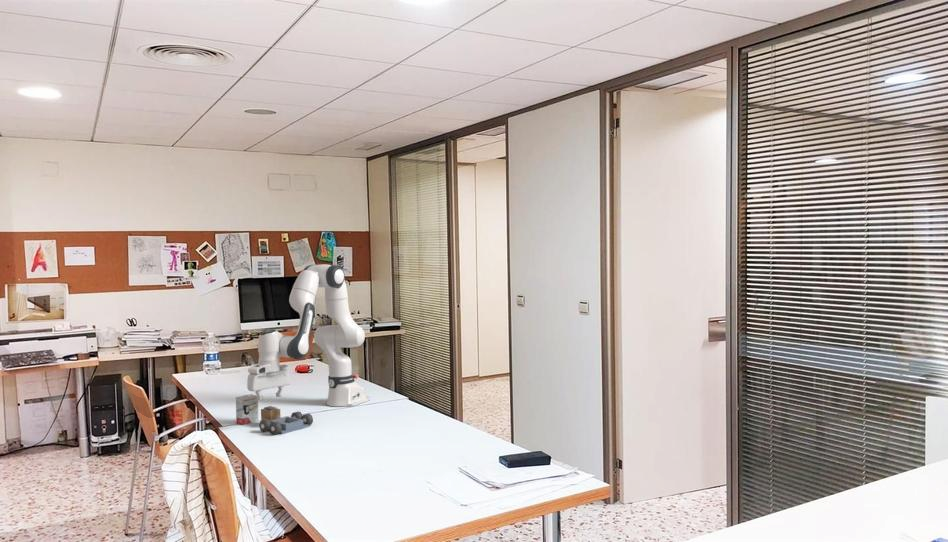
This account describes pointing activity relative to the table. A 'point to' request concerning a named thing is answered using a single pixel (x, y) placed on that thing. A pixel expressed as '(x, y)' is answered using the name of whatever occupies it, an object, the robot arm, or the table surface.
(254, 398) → the ink box
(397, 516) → the table surface
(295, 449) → the table surface
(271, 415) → the brown box
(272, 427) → the chassis
